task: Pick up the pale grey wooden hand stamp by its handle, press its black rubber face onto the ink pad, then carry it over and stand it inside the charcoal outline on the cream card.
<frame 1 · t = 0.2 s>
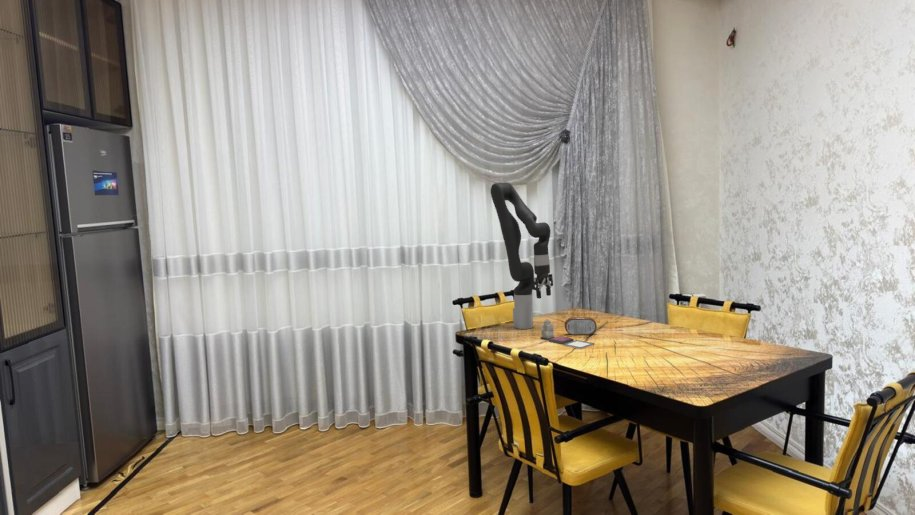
hand: (543, 296, 295), 17 cm above the table, tool pointing down, fingers open, 8 cm apart
tin: (580, 335, 289), on the table
marked box: (578, 344, 270), on the table
stamp: (547, 338, 284), on the table
ink pad: (561, 341, 278), on the table
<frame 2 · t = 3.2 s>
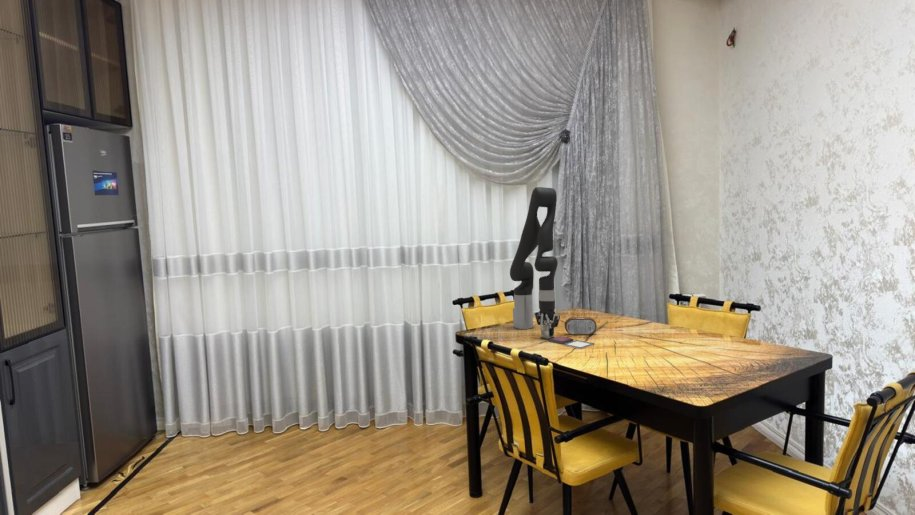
hand: (547, 334, 284), 2 cm above the table, tool pointing down, fingers closed on stamp, 4 cm apart
stamp: (547, 338, 284), on the table, touching gripper
everything else where it was.
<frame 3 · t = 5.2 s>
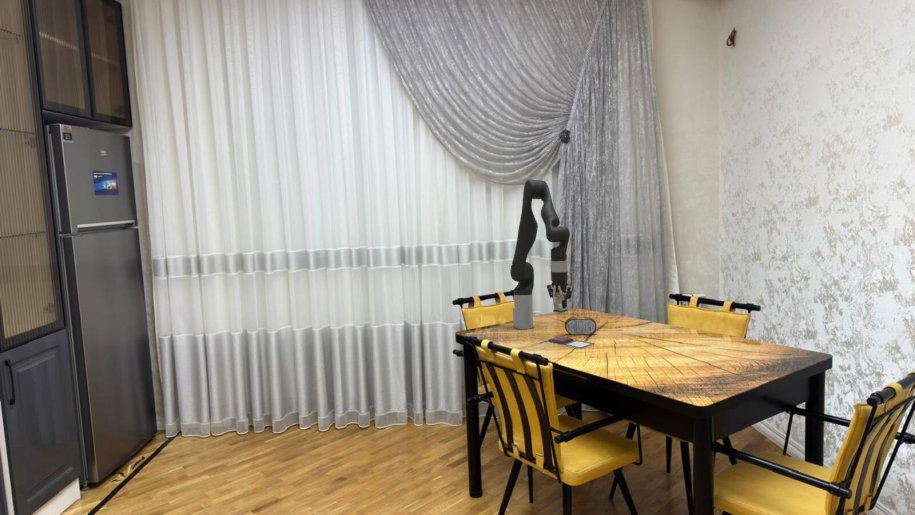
hand: (560, 307, 276), 16 cm above the table, tool pointing down, fingers closed on stamp, 4 cm apart
stamp: (560, 311, 276), point 14 cm above the table, touching gripper
everything else where it was.
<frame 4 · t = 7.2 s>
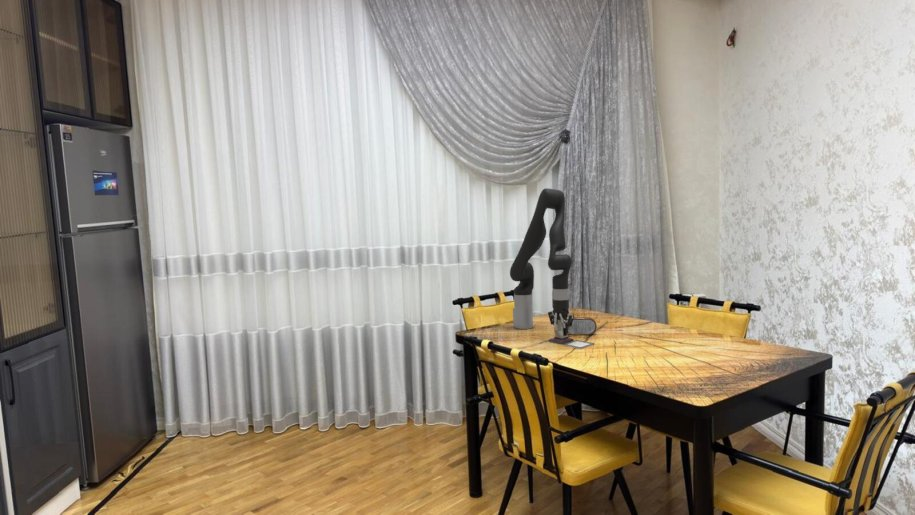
hand: (561, 334, 278), 3 cm above the table, tool pointing down, fingers closed on stamp, 4 cm apart
stamp: (561, 338, 278), point 1 cm above the table, touching gripper, ink pad
everything else where it was.
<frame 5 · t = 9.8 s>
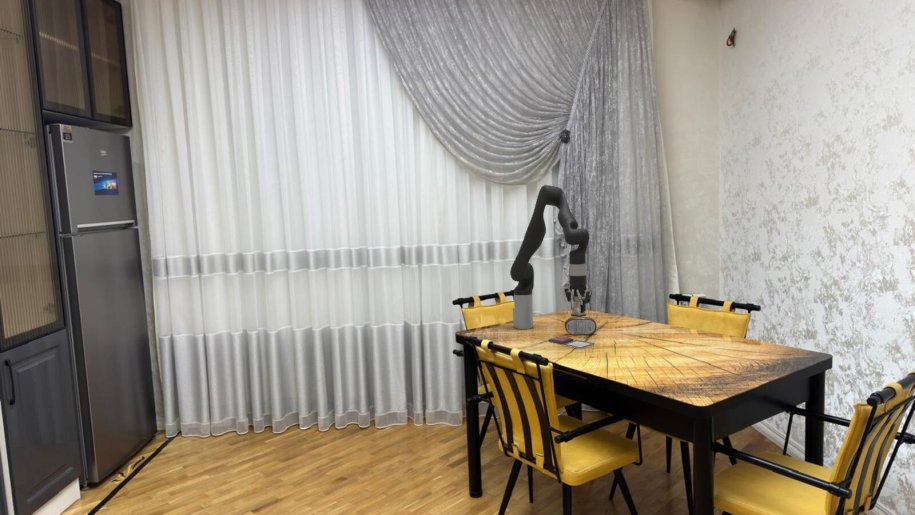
hand: (578, 311, 269), 15 cm above the table, tool pointing down, fingers closed on stamp, 4 cm apart
stamp: (578, 315, 269), point 13 cm above the table, touching gripper
everything else where it was.
when the fingers open (3 cm above the table, at t = 11.6 s): stamp stays where it is, resting on marked box.
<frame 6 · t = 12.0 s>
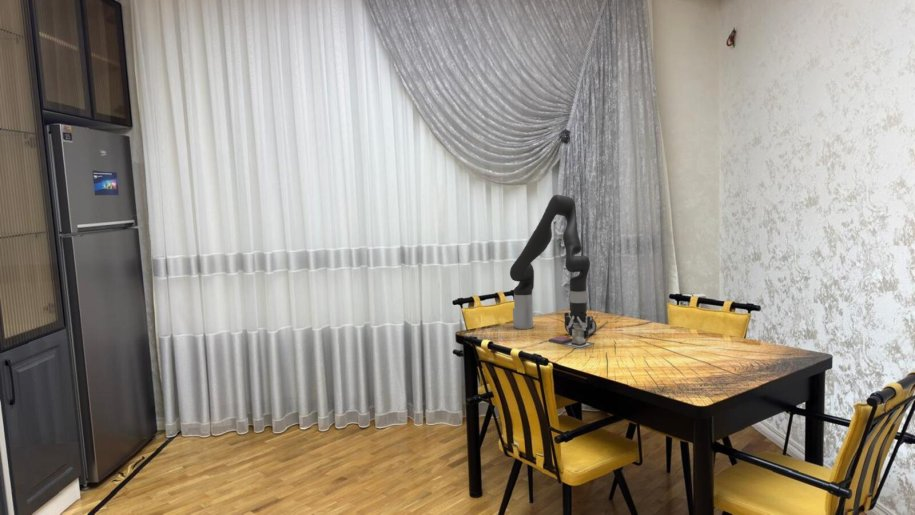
hand: (578, 336, 270), 4 cm above the table, tool pointing down, fingers open, 7 cm apart
stamp: (578, 344, 270), resting on marked box
everything else where it was.
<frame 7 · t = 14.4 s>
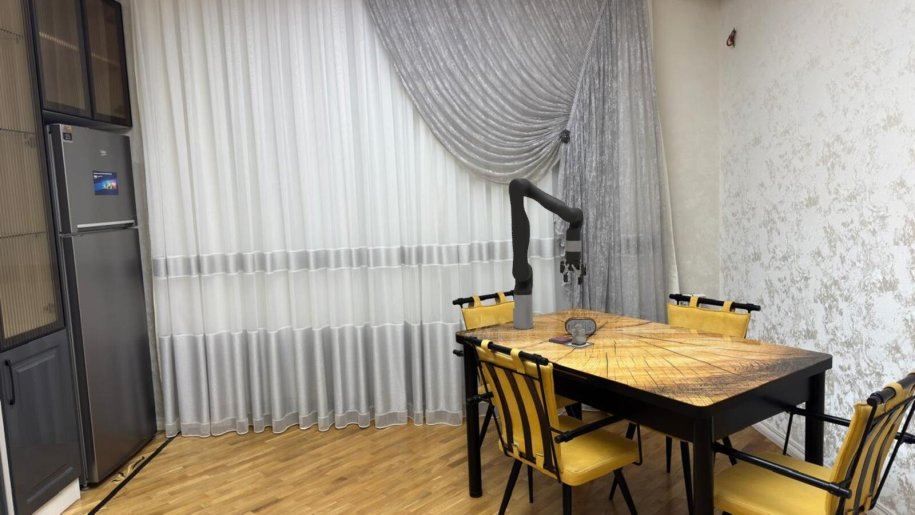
hand: (572, 283, 289), 24 cm above the table, tool pointing down, fingers open, 8 cm apart
nothing on the table moved.
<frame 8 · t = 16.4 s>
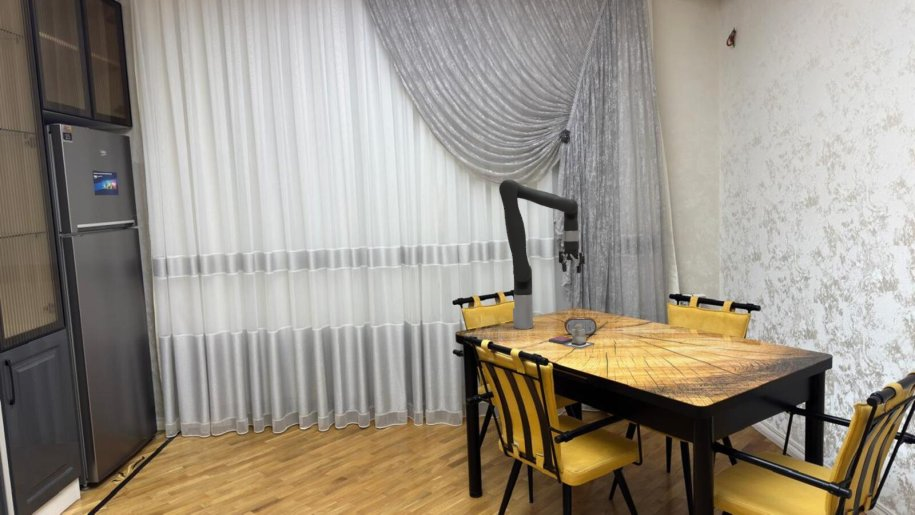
hand: (571, 272, 299), 28 cm above the table, tool pointing down, fingers open, 8 cm apart
nothing on the table moved.
at the end: stamp 0.0 cm off-centre on the marked box, point 0.3 cm above the marked box's base; stamp tilted 0°; the gripper is holding nothing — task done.
